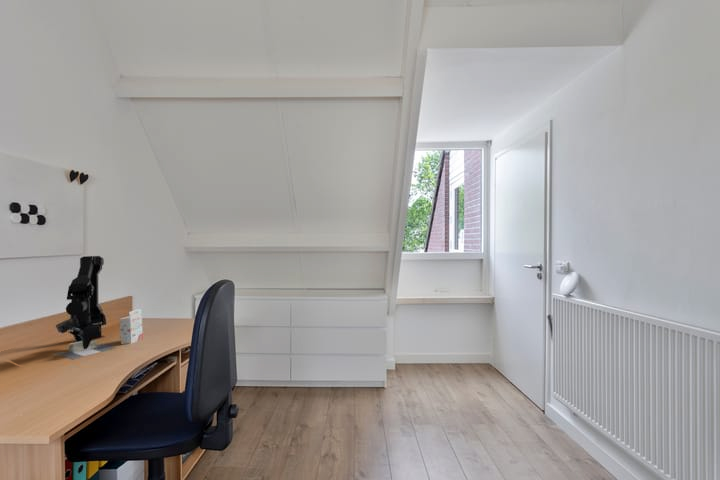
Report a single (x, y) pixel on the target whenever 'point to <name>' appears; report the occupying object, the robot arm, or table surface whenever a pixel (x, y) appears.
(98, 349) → the charcoal mat
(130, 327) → the ink cartridge box
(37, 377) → the table surface
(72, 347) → the off-white banded block
